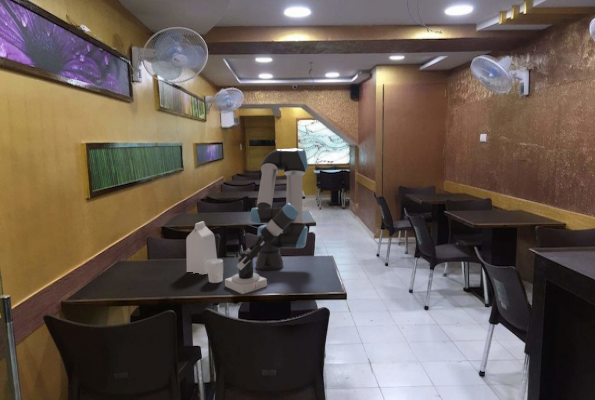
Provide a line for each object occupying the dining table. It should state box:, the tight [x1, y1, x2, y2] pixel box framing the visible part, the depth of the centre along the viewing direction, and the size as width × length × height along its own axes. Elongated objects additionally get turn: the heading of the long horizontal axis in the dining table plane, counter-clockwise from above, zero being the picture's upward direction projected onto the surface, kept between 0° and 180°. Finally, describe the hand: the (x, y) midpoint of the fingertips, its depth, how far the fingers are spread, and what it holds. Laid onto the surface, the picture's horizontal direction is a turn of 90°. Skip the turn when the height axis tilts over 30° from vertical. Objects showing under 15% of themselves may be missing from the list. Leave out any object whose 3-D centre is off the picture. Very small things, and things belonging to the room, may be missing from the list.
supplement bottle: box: [237, 250, 254, 279], centre depth 190 cm, size 7×7×12 cm
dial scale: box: [224, 272, 268, 295], centre depth 192 cm, size 15×14×5 cm
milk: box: [185, 220, 218, 275], centre depth 216 cm, size 12×12×26 cm
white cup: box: [207, 258, 224, 284], centre depth 200 cm, size 8×8×10 cm
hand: (240, 263), depth 190 cm, fingers open, 13 cm apart
